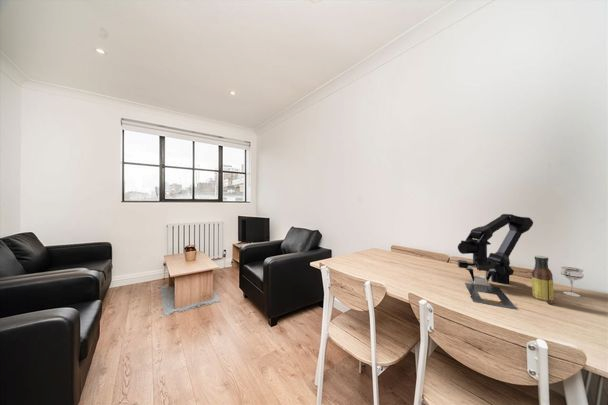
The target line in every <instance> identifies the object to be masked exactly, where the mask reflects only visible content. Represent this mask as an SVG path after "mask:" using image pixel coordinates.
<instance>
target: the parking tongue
mask: <svg viewBox="0 0 608 405" xmlns="http://www.w3.org/2000/svg"><path fill="white" fill-rule="evenodd" d="M469 282H470V284H475V283H474V282H473V280H471V279H469ZM477 285H479V284H477ZM484 286H486V285H484ZM487 286H490V287H491V284H490V283H489V282H488V283H487Z"/></svg>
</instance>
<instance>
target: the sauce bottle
mask: <svg viewBox="0 0 608 405" xmlns="http://www.w3.org/2000/svg"><path fill="white" fill-rule="evenodd" d="M534 262H535V264H534V268H533V270H532V272H531V287H532V297H533V298H534V299H535V300H538V301H541V302H542V301H543V302H545V303H547V304H548V305H549V304H551V305H552V304H553V303H554V302H555V301H554V300H555V298H554V296H555V295H554V280H553V278H554V277H553V273H552V270H550V268H549V257H548V256H543V255H534Z"/></svg>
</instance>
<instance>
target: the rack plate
mask: <svg viewBox="0 0 608 405" xmlns="http://www.w3.org/2000/svg"><path fill="white" fill-rule="evenodd" d="M464 284H465V287H466V289H467V290H468V293H469V295H470V299H471V301H472V302H474V303H479V304H484V305H490V306H496V307H502V308H508V309H511V310H516V308H517V307H516V305H514V303H513V302H512V301H511V299H510V298H508V296H507V294H505V292H503V290H502V289H501V288H500V287H496V286H495V287H494V286H491V285H490V286H485V285H478V284H471V282H470V283H469V282H464ZM479 293H484V294H491V295H495V296H497V298H498V299H499V301H498V300H492V299H486V298H482V297H481V295H480V294H479Z"/></svg>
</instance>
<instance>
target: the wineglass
mask: <svg viewBox="0 0 608 405" xmlns="http://www.w3.org/2000/svg"><path fill="white" fill-rule="evenodd" d="M560 269H561V270H559V271H560V275H561V276H562V277H563V278H565V279H567V280H568V281H569V282H570V283H569V284H570V291H563V294H565V295H568V296H572V297H581V295H580V294H578V293H575V292H573V287H574V285H573V284H574V282H575V281H579V280H582V279H583V278H584V273H583V272H584V269H580V268H576V267H570V266H560Z"/></svg>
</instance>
